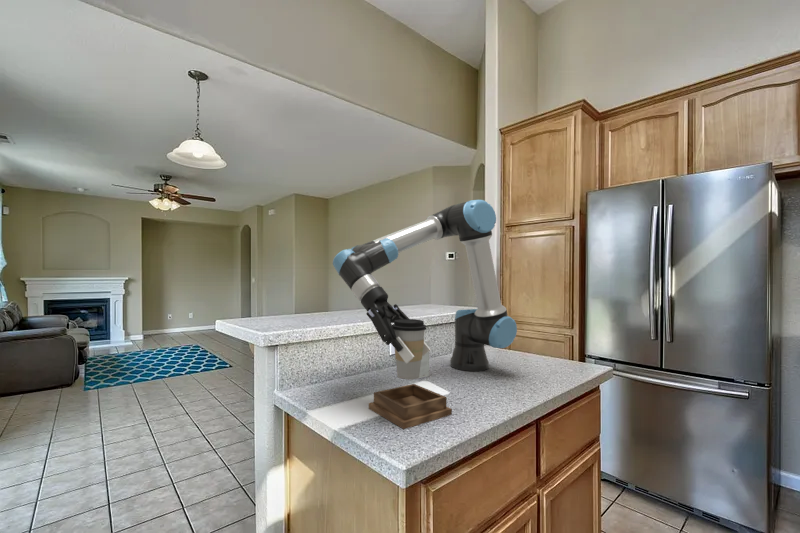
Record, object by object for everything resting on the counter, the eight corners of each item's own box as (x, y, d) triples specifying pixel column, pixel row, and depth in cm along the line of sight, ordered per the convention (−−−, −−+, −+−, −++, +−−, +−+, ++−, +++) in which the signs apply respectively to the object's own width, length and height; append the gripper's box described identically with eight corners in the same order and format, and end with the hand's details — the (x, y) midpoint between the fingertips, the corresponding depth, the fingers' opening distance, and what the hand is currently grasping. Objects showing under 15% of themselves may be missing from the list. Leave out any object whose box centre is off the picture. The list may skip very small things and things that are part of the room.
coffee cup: (422, 383, 93) (424, 324, 94) (386, 380, 95) (388, 322, 96) (427, 373, 103) (428, 319, 103) (394, 370, 105) (395, 318, 105)
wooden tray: (414, 397, 110) (414, 382, 110) (451, 414, 97) (451, 397, 97) (368, 408, 101) (368, 392, 101) (403, 429, 88) (403, 410, 88)
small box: (429, 376, 132) (430, 340, 132) (415, 379, 128) (416, 342, 129) (415, 371, 139) (416, 337, 139) (402, 374, 135) (402, 338, 135)
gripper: (382, 300, 116) (427, 356, 108) (338, 305, 97) (389, 374, 89) (397, 284, 114) (444, 340, 106) (355, 285, 94) (409, 355, 87)
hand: (419, 356), depth 98 cm, fingers closed on coffee cup, 9 cm apart
